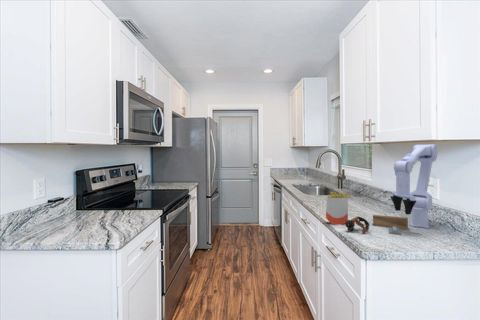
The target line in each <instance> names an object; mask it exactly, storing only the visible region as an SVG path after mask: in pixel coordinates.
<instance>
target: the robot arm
mask: <svg viewBox="0 0 480 320" xmlns="http://www.w3.org/2000/svg"><path fill="white" fill-rule="evenodd" d="M438 152H439V150H438V145H436V144H435V143H433V144H431V143H430V144H415V145H413V147H412V151H411V153H407V154H406V155H404V157H402V159H401V160H397V161H395V162H394V165H393V171H394V175H395V181H396V182H395V183H396V187H395V188H396V189H395V191H391V196H390V199H391V200H392V203H393V206H394V210H395V211H396V212H397V211H401V207H402V202H403V206H404V213H405V215H411V220H410V221H409V222H410V226H411V227H415V228H424V229H425V228H426V229H430V227H431V226H430V225H429V224H428V223H429V220H428V219H429V210H431V208H432V207H433V196H432V195H431V194H430V193H429V192H428V188H429V182H430V178H431V177H430V176H431V172H432V166H433V163H434V162H436V160H437V158H438ZM418 162H419V163H420V168H419V173H418V177H417V182H416V187H415V190H413V191H410V190H411V184H410V183H411V173H412V172H413V168H414V165H416V164H417V163H418Z"/></svg>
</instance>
